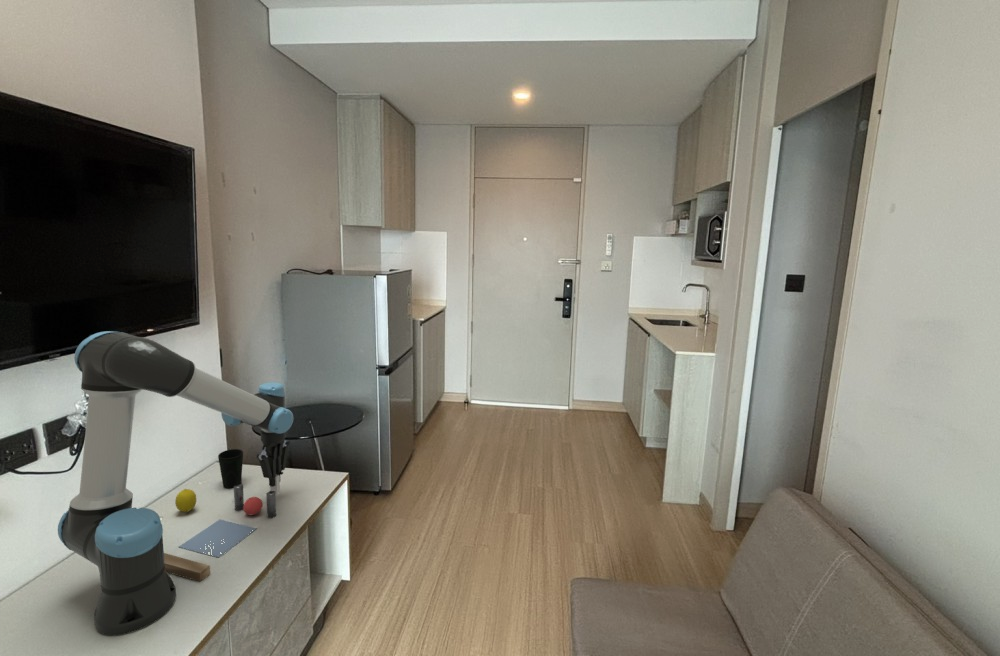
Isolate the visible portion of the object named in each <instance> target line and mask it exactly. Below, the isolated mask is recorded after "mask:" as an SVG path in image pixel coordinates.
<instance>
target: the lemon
mask: <svg viewBox="0 0 1000 656" xmlns="http://www.w3.org/2000/svg"><path fill="white" fill-rule="evenodd" d="M174 503H175V507H176V508H177V510H178V511H180V512H184V513H188V512H189V511H191V510H192V509H194V507H195V506H196V504H197V494H196V492H195V491H194V490H193V489H190V488H184V489H183V490H181V491H179V492H178V494H177V495H176V498H175V502H174Z"/></svg>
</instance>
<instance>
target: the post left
mask: <svg viewBox="0 0 1000 656" xmlns="http://www.w3.org/2000/svg"><path fill="white" fill-rule="evenodd" d="M233 497H234V501H233V502H234V510H235V512H236V511H242V510H244V509H243V506H244V503H245V502H244V501H245V499H244V498H245V497H244V484H243V483H241V484H237V485H235V486H234V488H233Z"/></svg>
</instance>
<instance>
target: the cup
mask: <svg viewBox="0 0 1000 656" xmlns="http://www.w3.org/2000/svg"><path fill="white" fill-rule="evenodd" d="M217 457H218V464H219V469H220V475H221V480H222V486H223V488H224V489H227V490H229V489H230V490H232V489H234V486H235V485H237V484H242V476H243V463H244V462H243V460H244V451H243V450H242V449H239V448H231V449H227V450H224V451H221V452H220V453H219V454H218V456H217Z"/></svg>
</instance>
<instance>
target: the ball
mask: <svg viewBox="0 0 1000 656" xmlns="http://www.w3.org/2000/svg"><path fill="white" fill-rule="evenodd" d="M263 507H264V503H263V501H262V499H261V498H260V497H257V496H252V497H251V496H250V497H249V498H247V500H245V502H244V506H243V509H242V510H243V512H244V513H245V514H247V516H248V515H249V516H254V515H257V514H259V513H260V512H261V510H262V509H263Z"/></svg>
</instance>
